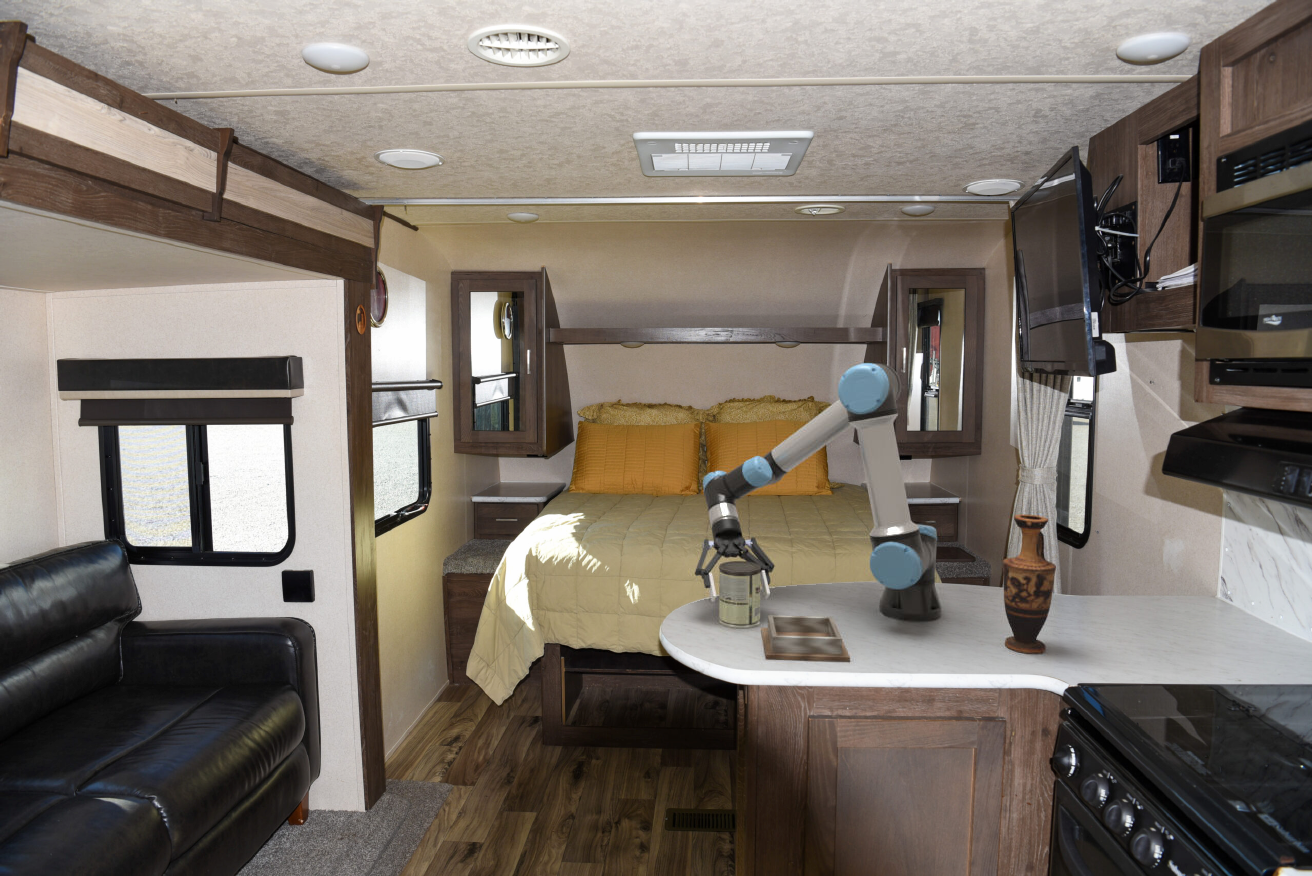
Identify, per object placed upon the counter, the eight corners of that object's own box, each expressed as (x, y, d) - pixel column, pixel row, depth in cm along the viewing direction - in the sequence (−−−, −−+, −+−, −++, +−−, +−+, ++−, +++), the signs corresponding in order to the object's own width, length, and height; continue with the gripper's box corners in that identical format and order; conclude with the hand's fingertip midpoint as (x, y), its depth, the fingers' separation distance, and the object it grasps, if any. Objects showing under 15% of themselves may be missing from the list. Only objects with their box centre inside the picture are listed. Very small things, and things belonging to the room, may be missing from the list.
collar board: (837, 633, 192) (838, 615, 192) (849, 661, 174) (850, 641, 174) (761, 631, 194) (761, 613, 193) (765, 659, 176) (766, 639, 175)
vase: (1032, 660, 176) (1039, 524, 173) (988, 644, 185) (994, 515, 182) (1061, 650, 182) (1069, 518, 179) (1017, 636, 191) (1024, 510, 188)
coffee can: (718, 614, 207) (719, 560, 205) (759, 615, 206) (760, 561, 204) (717, 627, 196) (718, 570, 195) (760, 629, 195) (761, 572, 194)
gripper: (767, 531, 217) (785, 602, 204) (676, 534, 212) (688, 607, 199) (774, 515, 211) (793, 587, 198) (680, 518, 207) (693, 592, 194)
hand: (740, 597), depth 199 cm, fingers open, 13 cm apart
